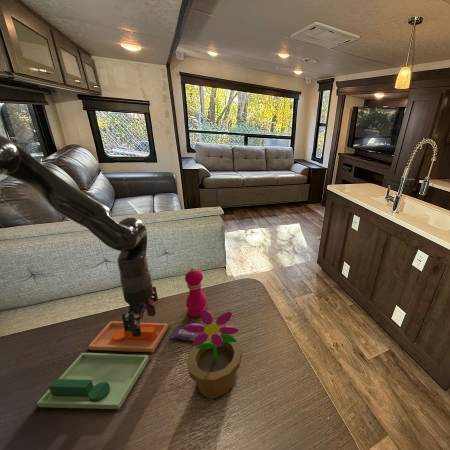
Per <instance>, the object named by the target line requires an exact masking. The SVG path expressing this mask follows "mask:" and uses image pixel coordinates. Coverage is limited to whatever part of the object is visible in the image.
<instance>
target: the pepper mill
mask: <svg viewBox="0 0 450 450" xmlns="http://www.w3.org/2000/svg"><path fill="white" fill-rule="evenodd" d="M203 279H204V274H203V272H202V271H201V270H200V269H197V268H196V266H195V267H194V266H192V267H191V268H190V270H188V271H187V272H186V273H185V276H184V280H185V283H186V284H187V286H186V287H187V289H188V290H189V291H188V292H189V293H188V296H187V298H186V301H185V306H186V308H187V312H188V313H187V314H188V315H189V316H190V317H192V318H198V317H201V310H204V309H206V310H207V306H206V305H207V297H206V295H205V294H204V293H203V290H202V286H203Z"/></svg>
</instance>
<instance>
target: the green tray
mask: <svg viewBox="0 0 450 450" xmlns="http://www.w3.org/2000/svg"><path fill="white" fill-rule="evenodd" d="M149 360H150V356H149V354H128V353H127V354H122V353H101V352H100V353H97V352H81V353H80V354H79V355H78V357H77V358H76V359H75V360H74V361H73V362H72V363H71V364H70V365H69V367H68V368H67V369H66V370H65V371H64V373H62V374H61V376H59V378H58V379H76V380H92V383H93V386H95V385H96V384H98V383H101V382H107V383H109V386H110V392H109V394H108V395H107V396H106V397H105V398H104V399H102V400H100V401H98V402H91V401H90V400H89V397H69V396H53V395H52V393H51V391H50V389H49V388H48V390H47V391H46V392H45V393H44V394H43V396H41V398H40V399H39V400H38V401H37V402H36V404H37V406H38V408H61V409H62V408H64V409H100V410H101V409H103V410H104V409H108V410H120V408H121V407H122V405H123V403H124V402H125V400H126V398H127V397H128V395H129V393H130V392H131V391H132V388H133V387H134V385H135V384H136V382H137V380H138V378H139V377H140V375H141V374H142V371H143V370H144V368H145V367H146V365H147V363H148V361H149Z"/></svg>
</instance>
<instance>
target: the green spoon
mask: <svg viewBox="0 0 450 450" xmlns="http://www.w3.org/2000/svg"><path fill="white" fill-rule="evenodd" d="M49 389H50V391H51V393H52V395H53V396H69V397H89V400H90V401H91V402H98V401H100V400H102V399H104V398H105V397H106V396H107V395H108V394H109V392H110V386H109V383H107V382H101V383H98V384H96V385H95V386H93V383H92V380H76V379H59V378H54V380H52V381H51V383H50V384H49V385H48V390H49Z"/></svg>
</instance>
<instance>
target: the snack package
mask: <svg viewBox="0 0 450 450" xmlns="http://www.w3.org/2000/svg"><path fill="white" fill-rule="evenodd" d="M201 333H205V332H204V331H202V332H199V333H190V332H188V331H186V330H184V326H177V328H175V331H174V332H173V333H172V334H171V336H170V339H175V340H182V341H189V342H190V341H191V342H193V341H194V338H196V337H197V336H198V335H199V334H201Z"/></svg>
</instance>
